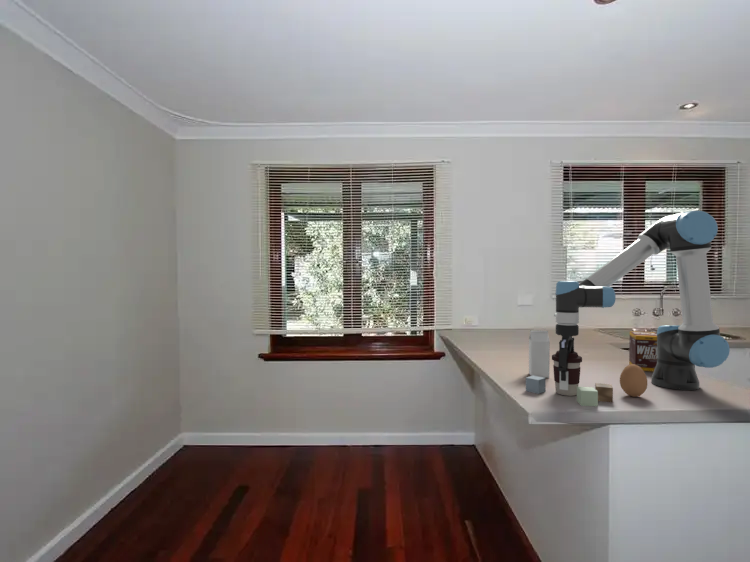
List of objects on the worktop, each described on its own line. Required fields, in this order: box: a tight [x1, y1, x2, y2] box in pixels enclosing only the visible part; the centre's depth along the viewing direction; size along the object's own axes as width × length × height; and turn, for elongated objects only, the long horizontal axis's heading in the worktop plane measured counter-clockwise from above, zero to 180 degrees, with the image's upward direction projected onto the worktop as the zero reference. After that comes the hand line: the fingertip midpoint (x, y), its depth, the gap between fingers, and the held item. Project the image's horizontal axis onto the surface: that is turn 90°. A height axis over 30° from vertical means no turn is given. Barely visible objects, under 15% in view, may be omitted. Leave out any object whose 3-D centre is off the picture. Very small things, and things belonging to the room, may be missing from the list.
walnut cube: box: [594, 382, 614, 404], centre depth 146 cm, size 5×5×5 cm
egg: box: [619, 364, 648, 398], centre depth 150 cm, size 8×8×11 cm
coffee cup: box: [551, 350, 583, 397], centre depth 154 cm, size 10×10×15 cm
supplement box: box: [628, 330, 657, 373], centre depth 194 cm, size 10×15×16 cm
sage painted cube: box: [576, 386, 599, 407], centre depth 142 cm, size 5×5×5 cm
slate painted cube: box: [525, 375, 547, 394], centre depth 157 cm, size 5×5×5 cm
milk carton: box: [528, 329, 551, 378], centre depth 180 cm, size 7×7×19 cm
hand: (566, 386), depth 154 cm, fingers closed on coffee cup, 9 cm apart
